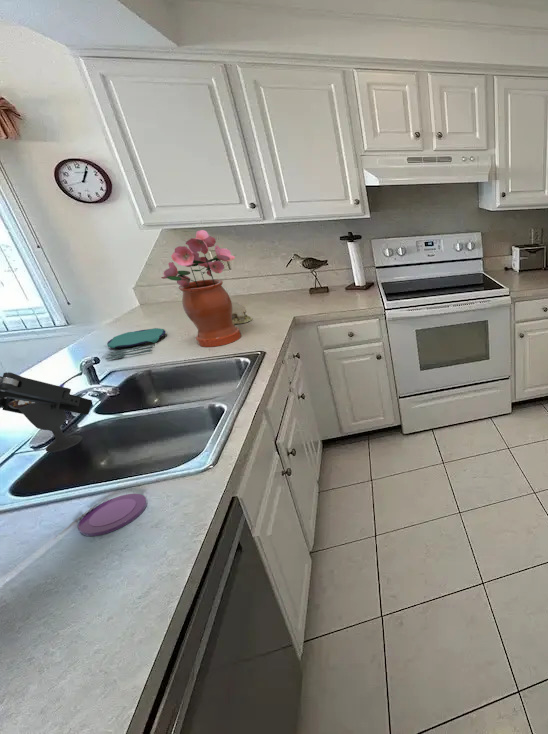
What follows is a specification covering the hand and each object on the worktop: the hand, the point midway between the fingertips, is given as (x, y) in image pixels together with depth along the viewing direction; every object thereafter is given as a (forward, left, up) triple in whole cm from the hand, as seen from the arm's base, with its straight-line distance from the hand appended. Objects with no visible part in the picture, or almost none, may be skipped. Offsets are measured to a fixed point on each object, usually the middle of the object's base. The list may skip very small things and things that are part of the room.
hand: (66, 408), depth 77 cm
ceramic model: (-55, +116, -26) cm, 131 cm away
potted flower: (-45, +94, -26) cm, 107 cm away
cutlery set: (-80, +88, -26) cm, 122 cm away
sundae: (+1, -3, -6) cm, 7 cm away
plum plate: (-1, -1, -26) cm, 26 cm away
